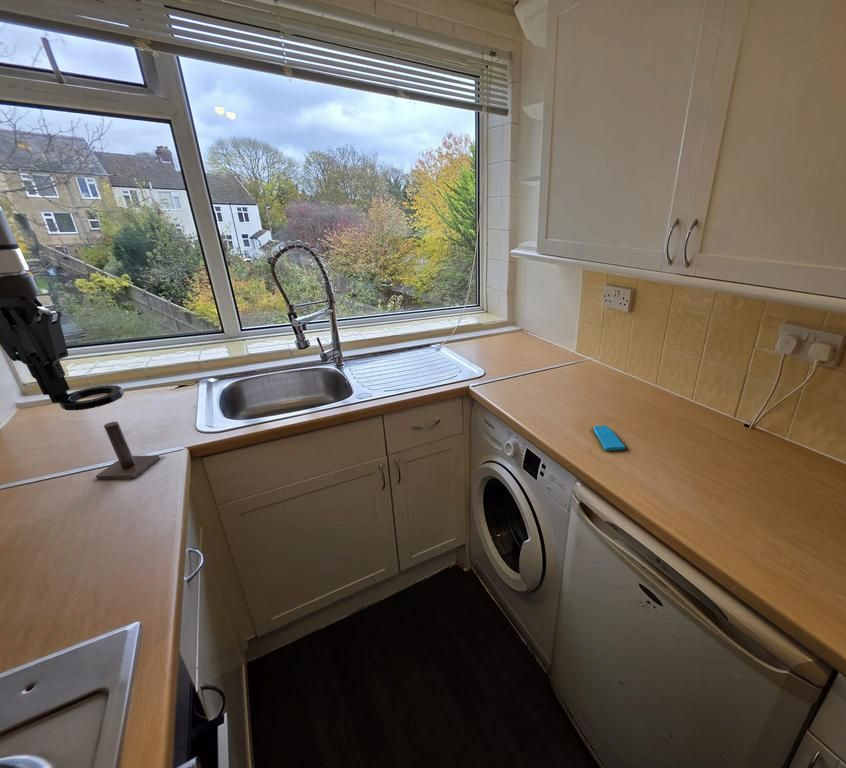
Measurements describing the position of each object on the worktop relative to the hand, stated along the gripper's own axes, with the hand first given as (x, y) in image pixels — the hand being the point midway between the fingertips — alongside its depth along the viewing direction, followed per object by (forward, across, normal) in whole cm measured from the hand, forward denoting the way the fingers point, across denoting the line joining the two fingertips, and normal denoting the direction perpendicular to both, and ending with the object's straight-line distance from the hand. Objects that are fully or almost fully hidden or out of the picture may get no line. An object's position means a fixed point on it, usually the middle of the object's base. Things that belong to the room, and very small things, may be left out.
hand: (57, 391), depth 83 cm
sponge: (+23, -121, -16) cm, 124 cm away
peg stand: (+22, -4, -4) cm, 22 cm away
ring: (+2, -5, 0) cm, 6 cm away
